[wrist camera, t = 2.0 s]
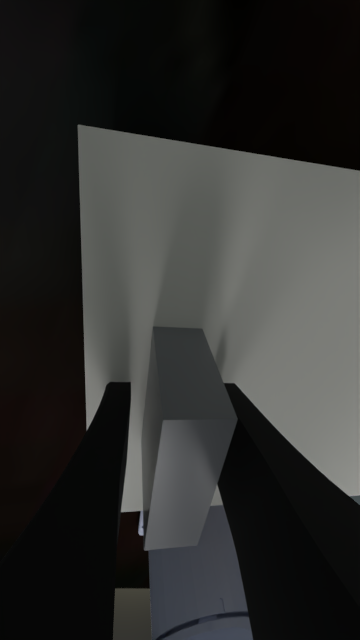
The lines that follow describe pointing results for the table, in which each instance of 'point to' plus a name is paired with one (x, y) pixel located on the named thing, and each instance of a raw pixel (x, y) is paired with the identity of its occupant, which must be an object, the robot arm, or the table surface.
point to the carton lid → (217, 312)
